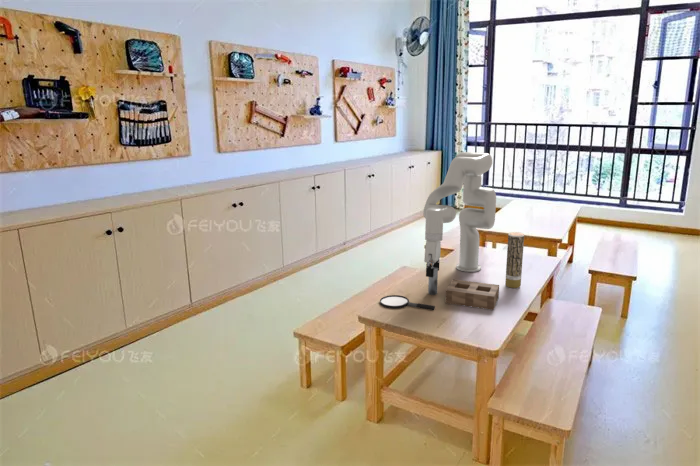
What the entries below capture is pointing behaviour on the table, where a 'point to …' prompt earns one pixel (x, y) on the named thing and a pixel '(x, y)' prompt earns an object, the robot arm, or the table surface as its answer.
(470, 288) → the brown rectangular block
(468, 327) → the table surface
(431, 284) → the steel pin
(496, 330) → the table surface
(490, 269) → the table surface
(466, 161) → the robot arm
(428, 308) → the magnifying glass
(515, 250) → the bark pattern cylinder
